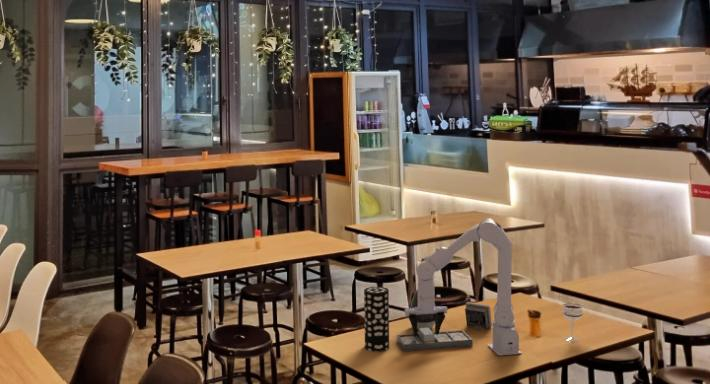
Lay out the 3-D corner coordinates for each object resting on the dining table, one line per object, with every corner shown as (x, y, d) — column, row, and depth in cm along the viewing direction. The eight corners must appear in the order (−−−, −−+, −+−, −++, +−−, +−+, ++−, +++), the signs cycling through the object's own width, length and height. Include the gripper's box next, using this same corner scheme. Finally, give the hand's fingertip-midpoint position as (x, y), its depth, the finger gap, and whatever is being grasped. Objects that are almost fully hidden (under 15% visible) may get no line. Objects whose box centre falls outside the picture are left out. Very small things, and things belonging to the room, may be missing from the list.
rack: (472, 346, 210) (472, 339, 210) (404, 351, 206) (404, 344, 206) (462, 336, 220) (462, 329, 220) (397, 341, 216) (396, 334, 216)
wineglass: (572, 334, 220) (573, 302, 219) (586, 341, 214) (587, 307, 212) (557, 337, 217) (558, 304, 216) (570, 343, 211) (571, 309, 210)
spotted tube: (374, 341, 217) (373, 285, 214) (394, 346, 211) (393, 289, 209) (359, 348, 210) (359, 290, 208) (379, 353, 205) (378, 294, 203)
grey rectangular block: (434, 345, 209) (434, 334, 209) (424, 346, 209) (424, 334, 208) (428, 338, 216) (428, 327, 216) (418, 339, 216) (418, 328, 215)
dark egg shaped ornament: (423, 334, 223) (423, 293, 221) (403, 327, 231) (403, 287, 229) (443, 328, 229) (443, 288, 228) (422, 321, 237) (422, 282, 236)
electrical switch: (492, 327, 229) (491, 303, 228) (487, 332, 225) (486, 308, 223) (468, 323, 235) (467, 300, 233) (463, 328, 230) (462, 305, 229)
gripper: (442, 291, 216) (442, 329, 218) (402, 294, 214) (402, 332, 215) (449, 297, 209) (449, 335, 211) (407, 299, 207) (408, 339, 208)
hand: (426, 334), depth 212 cm, fingers open, 7 cm apart
